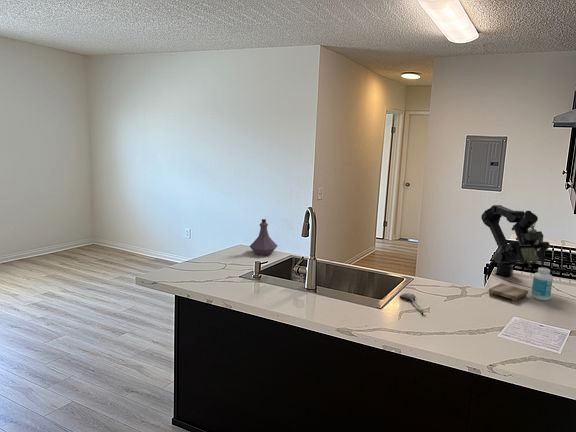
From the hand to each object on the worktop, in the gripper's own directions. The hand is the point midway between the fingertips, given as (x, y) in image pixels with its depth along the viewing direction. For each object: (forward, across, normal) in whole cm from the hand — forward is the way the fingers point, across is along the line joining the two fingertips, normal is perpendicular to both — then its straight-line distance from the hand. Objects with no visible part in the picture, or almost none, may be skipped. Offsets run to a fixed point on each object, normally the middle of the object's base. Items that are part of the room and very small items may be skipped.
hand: (533, 263), depth 207 cm
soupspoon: (+20, -60, 0) cm, 63 cm away
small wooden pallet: (+14, -14, +6) cm, 20 cm away
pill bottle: (+15, 0, +4) cm, 16 cm away
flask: (-34, -123, +54) cm, 138 cm away
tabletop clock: (-18, +22, +38) cm, 48 cm away
